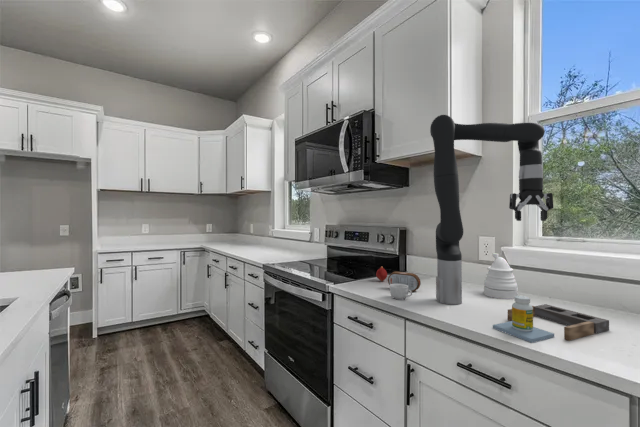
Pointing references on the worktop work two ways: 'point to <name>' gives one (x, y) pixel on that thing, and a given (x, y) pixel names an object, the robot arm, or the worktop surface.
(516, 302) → the supplement bottle
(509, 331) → the pad
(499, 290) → the honey pot
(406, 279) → the tin
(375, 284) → the worktop surface
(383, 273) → the onion
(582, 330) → the channel
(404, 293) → the teacup
